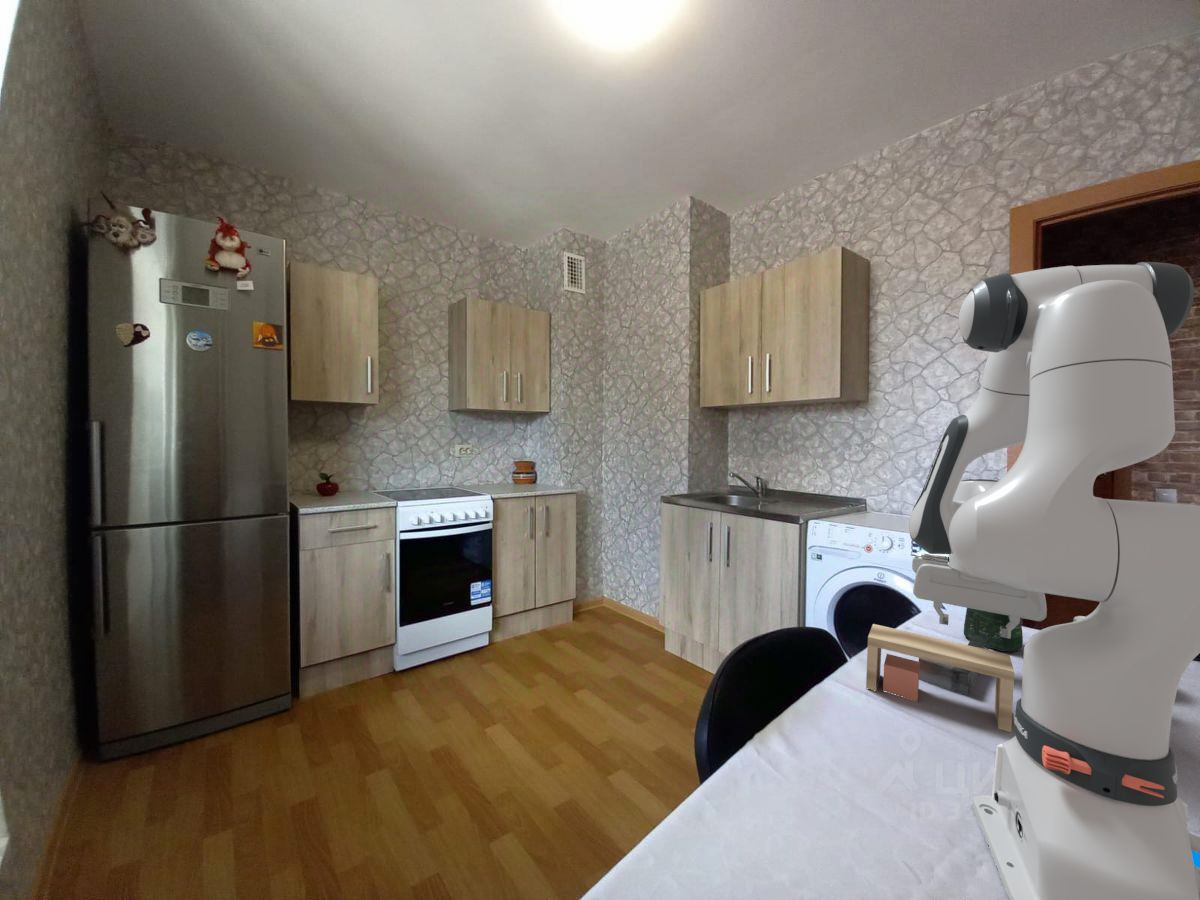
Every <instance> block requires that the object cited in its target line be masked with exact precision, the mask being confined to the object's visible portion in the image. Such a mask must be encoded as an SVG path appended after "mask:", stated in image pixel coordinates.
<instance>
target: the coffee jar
mask: <svg viewBox="0 0 1200 900" xmlns="http://www.w3.org/2000/svg"><path fill="white" fill-rule="evenodd" d="M1009 622H1010V620H1009V616H1008V615H1003V614H998V613H992V612H987V611H982V610H976V609H971V608H966V612H965V618H964V623H963V636H964V637H965V638H966V639H968V640H969V641H970V640H971V639H972V637H973V636H974V634H976V635H980V636H983V637H987V638H989V649H990V648H991V649H994V650H998V651H999V652H1000V651H1002V652H1013V653H1015V652H1017V651H1019V650H1022V648H1024V645H1023V643H1024V642H1023V640H1024V639H1023V638H1024V637H1023V627H1022V626H1023V625H1022V618H1020V623H1019V624H1018V625H1017V626H1016V627H1015V628H1014V629H1013V630H1011V638H1005V637H1000V625H1003V626H1006V625H1007V624H1008V623H1009Z"/></svg>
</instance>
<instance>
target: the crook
mask: <svg viewBox="0 0 1200 900" xmlns="http://www.w3.org/2000/svg"><path fill="white" fill-rule="evenodd" d="M967 645H969V646H974V647H978V648H983V649H987V650H990V647H989V638H987V637H983V636H980V635H976V634H974V636H973V637H972V639H971V640H969V641H968V644H967ZM918 662H920V665H919V681H923V682H925V683H928V684H931V685H934V686H937V687H940V688H942V689H946V690H949V691H952V692H955V693H958V694H960V695H962V696H963V695H964V696H966V697H968V696H969V694H970V692H971V691H972V689H973V687H974V685H975V684H976V681H977V680H978V677H979V676H980V674H981V673H977V672H973V671H969V670H965V669H961V668H957V667H953V666H949V665H945V664H941V663H937V662H934V661H930V660H926V659H922V658H918Z"/></svg>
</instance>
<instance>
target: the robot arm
mask: <svg viewBox="0 0 1200 900" xmlns="http://www.w3.org/2000/svg"><path fill="white" fill-rule="evenodd" d="M966 294H967V295H966V297H965V299H964V300H963V302H962V305H961V306H960V310H959V315H958V326H959V327H958V328H959V332H960V334H961V336H962V340H963V342H964V343H965V344H967V345H968V346H969V347H970V348H971V349H973V350H976V351H977V350H978V351H982V352H988V356H987V359H986V363H985V366H984V370H983V373H982V379H981V384H980V388H979V392H978V394H977V396H976V398H975V400H974V401H973V403H972V405H970V407H969V408H968V409H966V411H965V412H964V413H963V414H961V415H959V416H957V417H954V418H953V419H952V420H951V421H950V423H949V424H948V426H947V427H946V429H945V432H944V434H943V436H942V438H941V440H940V443H939V445H938V447H937V451H936V453H935V456H934V459H933V460H932V461H933V462H932V464H931V467H930V469H929V472H928V474H927V477H926V479H925V482H924V485H923V488H922V490H921V493H920V495H919V497H918V499H917V500H916V502H915V505H914V506H913V509H912V511H911V514H910V515H909V516H910V517H909V519H908V529H909V537H910V539H911V540H912V541H913V542H914V543H915V544H916V545H917V546H918V547H920V548H921V549H922V550H924V551H925V552H927V553H921V554H918V555H916V556H914V557H913V558H912V563H911V565H912V566H911V567H912V571H913V572H914V573H915V576H914V581H913V587H912V588H913V589H912V593H913V595H914V596H915V597H916V598H917V599H920V600H923V601H924V600H925V601H929V602H933V604H932V605H933V608H934V609H935V611H936V613H937V614H938V615H937V616H939V619H938V621H939V624H941V625H945V626H949V614H947V613H944V611H943V610H942V608H943V604H945V605H951V606H955V607H961V608H966V609H967V608H971V609H976V610H982V611H987V612H992V613H998V614H1003V615H1008V616H1009V620H1010V622H1009V623H1008V624H1007V625H1006V626H1003V625H1000V637H1005V638H1011V630H1013V629H1014V628H1015V627H1016V626H1017V625H1018V624H1019V623H1020V618H1021V619H1025V620H1029V621H1030V620H1031V621H1035V622H1042V621H1044V620H1045V619H1046V618H1047V614H1048V613H1047V611H1048V608H1047V600H1046V594H1049V595H1055V596H1062V597H1068V598H1073V599H1082V600H1087V601H1093V602H1094V601H1095V602H1099V604H1098V605H1097V606H1096V608H1095V609H1094V610H1093V611H1091V613H1089V614H1088V615H1085V618H1083V619H1081V620H1078V621H1075V622H1073V621H1071V622H1066V623H1062V624H1061V623H1060V624H1055V625H1051V626H1048V627H1045V628H1042V629H1040V630H1039V631H1037V632H1035V633H1034V634H1033V635H1032V636H1030V637H1029V638H1028V640H1027V641H1026V642H1025V645H1024V646H1023V657H1022V658H1023V663H1022V676H1021V677H1022V678H1021V679H1022V680H1021V681H1022V682H1021V697H1020V698H1019V699H1018V700H1017V701H1016V704H1015V705H1016V706H1015V709H1014V712H1013V723H1014V727H1013V728H1014V729H1013V731H1014V736H1013V737H1012V738H1010V739H1009V740H1007V741H1004V742H1001V743H999V744H997V746H996V750H995V762H994V769H993V770H994V771H993V782H992V789H991V790H992V791H991V792H992V793H991V795H986V794H985V795H982V794H980V795H975V796H973V798H972V803H971V807H972V806H973V807H972V810H973V809H974V810H973V813H974V815H975V814H976V815H975V818H976V817H977V818H976V820H977V823H978V822H979V823H978V825H979V824H980V825H979V827H980V826H981V828H982V830H981V832H982V831H983V833H984V835H983V837H984V836H985V838H984V840H985V839H986V840H985V842H986V841H987V843H988V845H989V848H990V850H991V852H992V855H993V857H994V860H995V862H996V865H995V867H996V866H997V868H998V870H999V873H998V875H999V874H1000V875H999V877H1000V876H1001V878H1000V880H1001V879H1002V880H1001V882H1003V883H1002V885H1003V888H1004V889H1005V893H1006V895H1007V897H1009V898H1008V900H1009V899H1010V900H1200V867H1198V866H1197V865H1195V864H1194V859H1193V857H1194V856H1193V853H1192V851H1193V852H1195V853H1197V854H1200V836H1198V835H1195V834H1193V833H1191V832H1189V830H1188V829H1189V828H1188V823H1187V822H1188V821H1187V820H1188V810H1189V805H1188V804H1187V803H1186V802H1184V801H1183V799H1182V798H1180V797H1179V796H1178V786H1177V782H1178V778H1179V777H1178V767H1177V765H1176V760H1175V752H1174V751H1173V749H1172V748H1171V746H1170V736H1171V727H1172V719H1173V712H1174V707H1175V701H1176V697H1177V691H1178V688H1179V685H1180V681H1181V679H1182V678H1183V675H1184V673H1185V671H1186V670H1187V668H1188V667H1189V666H1190V664H1192V662H1193V661H1194V659H1195V658H1196V657H1197V656H1199V654H1200V505H1198V504H1191V503H1190V504H1188V503H1173V502H1158V501H1142V500H1141V501H1140V500H1127V499H1113V498H1111V499H1110V498H1102V497H1099V496H1098V497H1097V496H1095V495H1094V484H1095V481H1096V479H1097V477H1098V476H1100V475H1102V474H1105V473H1108V472H1112V471H1116V470H1119V469H1123V468H1126V467H1129V466H1131V465H1134V464H1135V465H1136V464H1137V463H1138V464H1139V463H1141V462H1143V461H1146V460H1148V459H1151V458H1153V457H1155V456H1156V455H1158V454H1159V453H1161V452H1162V451H1164V450H1165V449H1166V448H1167V447H1168V445H1169V444H1170V443H1171V441H1172V440H1173V439H1174V435H1175V433H1176V422H1175V421H1176V419H1175V403H1174V402H1175V401H1174V399H1175V398H1174V382H1173V366H1172V365H1173V364H1172V354H1171V347H1170V341H1169V337H1171V336H1173V334H1175V333H1176V332H1178V331H1179V330H1180V329H1181V328H1182V326H1183V325H1184V324H1185V322H1186V321H1187V319H1188V317H1189V315H1190V313H1191V310H1192V307H1193V303H1194V298H1195V297H1194V295H1195V287H1194V281H1193V279H1192V277H1191V275H1190V274H1189V273H1188V272H1187V271H1186V269H1184V268H1183V267H1182V266H1180V265H1178V264H1174V263H1173V264H1172V263H1168V262H1167V263H1166V262H1157V261H1154V262H1152V261H1140V262H1136V263H1135V264H1099V265H1098V264H1097V265H1092V264H1091V265H1081V266H1079V265H1078V266H1074V265H1065V266H1057V267H1056V266H1055V267H1049V268H1048V267H1047V268H1042V269H1036V270H1035V269H1034V270H1030V271H1025V272H1018V273H1014V274H1010V273H1008V272H1005V273H1001V274H998V275H992V276H990V277H987V278H983V279H981V280H978V281H977V282H976V283H975V284H974V285H973V286H971V288H969V291H968V292H967V293H966ZM1020 445H1023V446H1022V449H1021V451H1020V453H1019V455H1018V458H1017V459H1016V461H1015V462H1014V463H1013V465H1012V466H1011V468H1009V470H1008V471H1007V472H1006V473H1005V474H1004V475H1003V476H1002V477H1001V478H1000V479H998V480H997V479H990V478H989V479H988V478H987V479H984V478H975V479H972V478H970V479H962V478H963V476H964V473H965V472H966V469H967V467H968V466H969V465H970V464H971V463H973V461H975V460H976V459H978V458H980V457H982V456H985V455H988V454H991V453H993V452H996V451H999V450H1002V449H1006V448H1009V447H1015V446H1020ZM944 555H945V556H944ZM946 555H948V556H946ZM981 828H980V829H981ZM983 833H982V834H983ZM987 843H986V844H987ZM988 845H987V846H988ZM989 848H988V849H989ZM990 850H989V851H990ZM992 855H991V856H992ZM994 860H993V861H994ZM997 868H996V869H997ZM998 870H997V871H998Z"/></svg>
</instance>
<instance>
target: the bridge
mask: <svg viewBox="0 0 1200 900" xmlns="http://www.w3.org/2000/svg"><path fill="white" fill-rule="evenodd" d="M882 649H883V650H885V651H891V652H895V653H898V654H901V655H902V654H903V655H905V656H910V657H914V658H918V659H919V658H922V659H926V660H930V661H934V662H937V663H941V664H945V665H949V666H953V667H957V668H961V669H965V670H969V671H973V672H977V673H980V674H981V675H986V676H990V677H994V678H995V688H994V689H995V690H994V691H995V692H994V711H995V718H996V722H997V723H996V724H997V728H998V729H999V730H1002V731H1005V732H1008V733H1012V722H1013V704H1014V703H1013V701H1014V684H1015V670H1014V667H1013V662H1012V658H1011V656H1010V654H1008V653H1004V652H1000V651H995V650H991V649H989V650H987V649H983V648H978V647H974V646H969V645H968V644H965V643H960V642H955V641H951V640H947V639H943V638H937V637H934V636H928V635H924V634H920V633H915V632H911V631H906V630H903V629H897V628H894V627H889V626H884V625H880V624H876V623H873V624H872V625H871V628H870V630H869V633H868V636H867V650H866V651H867V653H866V654H867V655H866V656H867V657H866V679H865V682H866V683H865V689H866V688H868V689H872V690H875V691H877V689H878V686H879V685H878V684H879V682H878V681H880V678H881V666H882V663H881V662H882ZM879 677H880V678H879ZM876 688H877V689H876ZM868 689H867V690H868ZM875 691H874V692H875Z"/></svg>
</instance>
